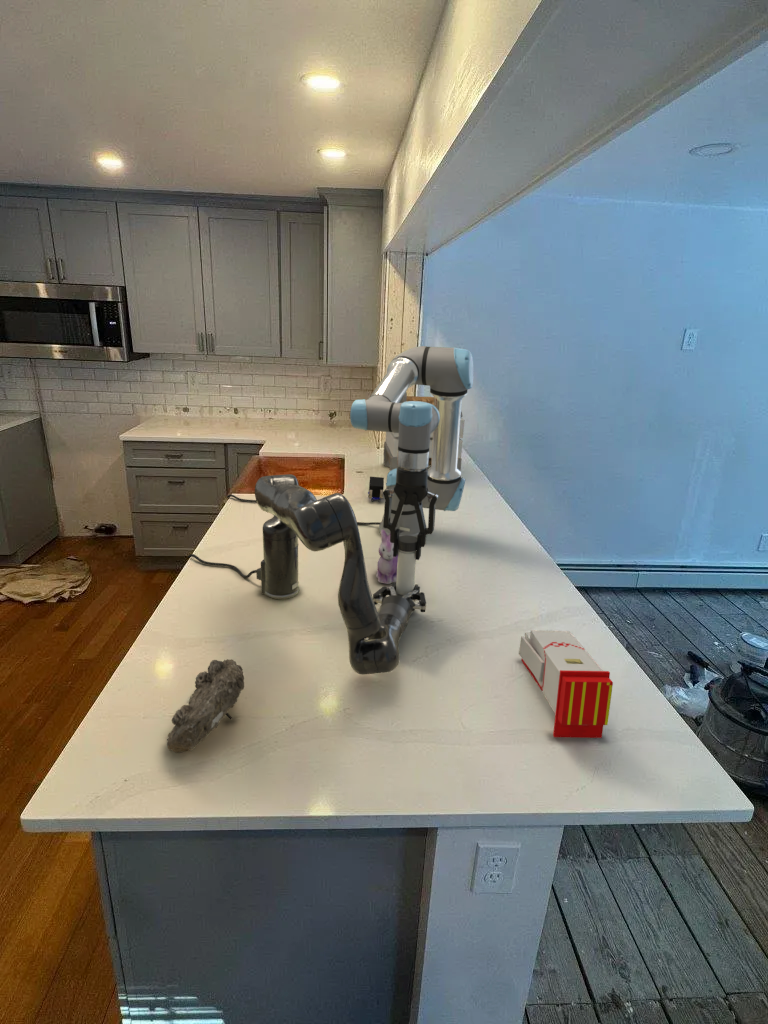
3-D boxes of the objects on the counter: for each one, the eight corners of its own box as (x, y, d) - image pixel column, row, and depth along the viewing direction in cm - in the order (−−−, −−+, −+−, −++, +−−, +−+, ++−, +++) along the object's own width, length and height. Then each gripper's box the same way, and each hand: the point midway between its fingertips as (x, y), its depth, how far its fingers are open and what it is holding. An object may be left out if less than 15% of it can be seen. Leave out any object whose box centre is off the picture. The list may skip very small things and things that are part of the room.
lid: (418, 552, 140) (419, 543, 140) (397, 551, 140) (397, 542, 139) (417, 544, 145) (417, 535, 145) (396, 543, 145) (397, 534, 144)
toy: (565, 614, 131) (622, 678, 102) (559, 667, 134) (613, 744, 105) (513, 613, 131) (555, 677, 102) (509, 666, 134) (548, 744, 104)
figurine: (383, 587, 161) (385, 538, 155) (367, 573, 169) (369, 526, 164) (412, 582, 165) (415, 534, 160) (395, 567, 173) (397, 522, 168)
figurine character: (384, 507, 230) (383, 491, 243) (385, 490, 226) (384, 475, 240) (367, 506, 230) (368, 491, 243) (368, 489, 226) (368, 474, 240)
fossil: (192, 660, 117) (244, 628, 112) (224, 691, 120) (276, 661, 115) (142, 746, 98) (202, 712, 93) (182, 779, 101) (242, 748, 96)
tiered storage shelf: (382, 463, 289) (386, 382, 275) (445, 464, 293) (451, 384, 279) (390, 482, 257) (394, 392, 243) (460, 483, 261) (468, 394, 247)
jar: (406, 617, 146) (411, 547, 139) (391, 612, 148) (395, 543, 142) (415, 610, 150) (420, 541, 143) (400, 605, 152) (404, 537, 145)
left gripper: (423, 608, 131) (434, 577, 147) (363, 598, 134) (381, 569, 150) (421, 636, 134) (432, 602, 149) (362, 626, 137) (380, 594, 152)
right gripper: (452, 467, 137) (444, 555, 145) (379, 459, 141) (376, 545, 149) (447, 475, 130) (440, 567, 138) (371, 467, 134) (368, 556, 142)
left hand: (406, 586), depth 149 cm, fingers closed on jar, 4 cm apart
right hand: (406, 555), depth 144 cm, fingers closed on lid, 5 cm apart
